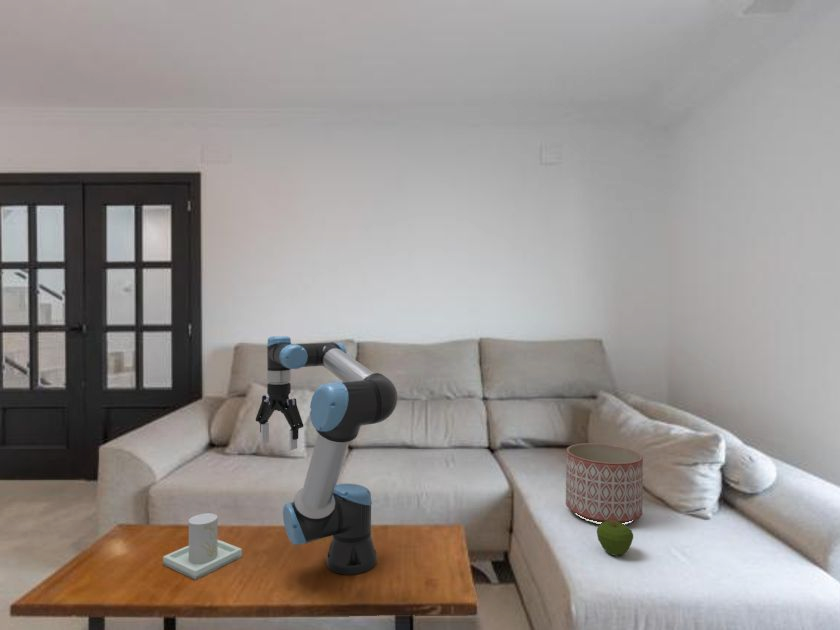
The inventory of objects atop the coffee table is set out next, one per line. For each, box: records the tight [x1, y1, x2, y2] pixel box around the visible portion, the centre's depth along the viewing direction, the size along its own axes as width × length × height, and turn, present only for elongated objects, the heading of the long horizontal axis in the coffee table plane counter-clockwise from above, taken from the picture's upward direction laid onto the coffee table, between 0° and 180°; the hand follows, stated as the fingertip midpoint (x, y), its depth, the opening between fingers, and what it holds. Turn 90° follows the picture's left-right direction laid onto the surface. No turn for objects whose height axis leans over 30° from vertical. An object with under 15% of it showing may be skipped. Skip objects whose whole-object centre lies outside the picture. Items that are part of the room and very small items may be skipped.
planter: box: [565, 442, 644, 523], centre depth 192 cm, size 27×27×24 cm
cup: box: [188, 512, 219, 564], centre depth 155 cm, size 8×8×12 cm
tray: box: [162, 539, 243, 581], centre depth 155 cm, size 16×16×2 cm
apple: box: [596, 521, 634, 556], centre depth 161 cm, size 11×10×10 cm
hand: (278, 446), depth 168 cm, fingers open, 13 cm apart
